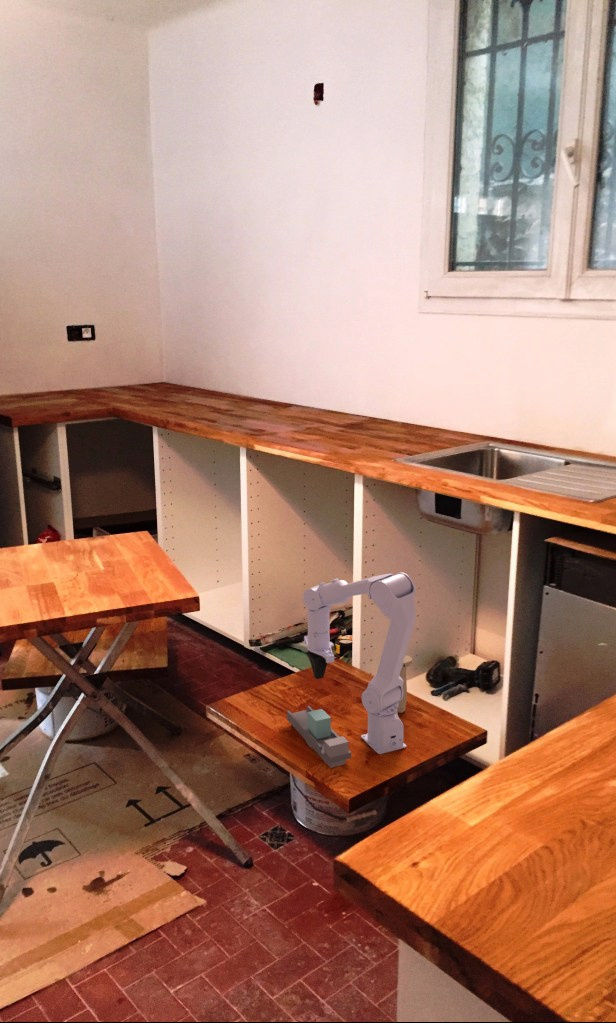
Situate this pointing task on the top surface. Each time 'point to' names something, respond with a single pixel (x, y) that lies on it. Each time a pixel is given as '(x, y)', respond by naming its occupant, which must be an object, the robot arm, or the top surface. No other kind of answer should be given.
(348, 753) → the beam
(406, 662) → the handle
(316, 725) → the rider
